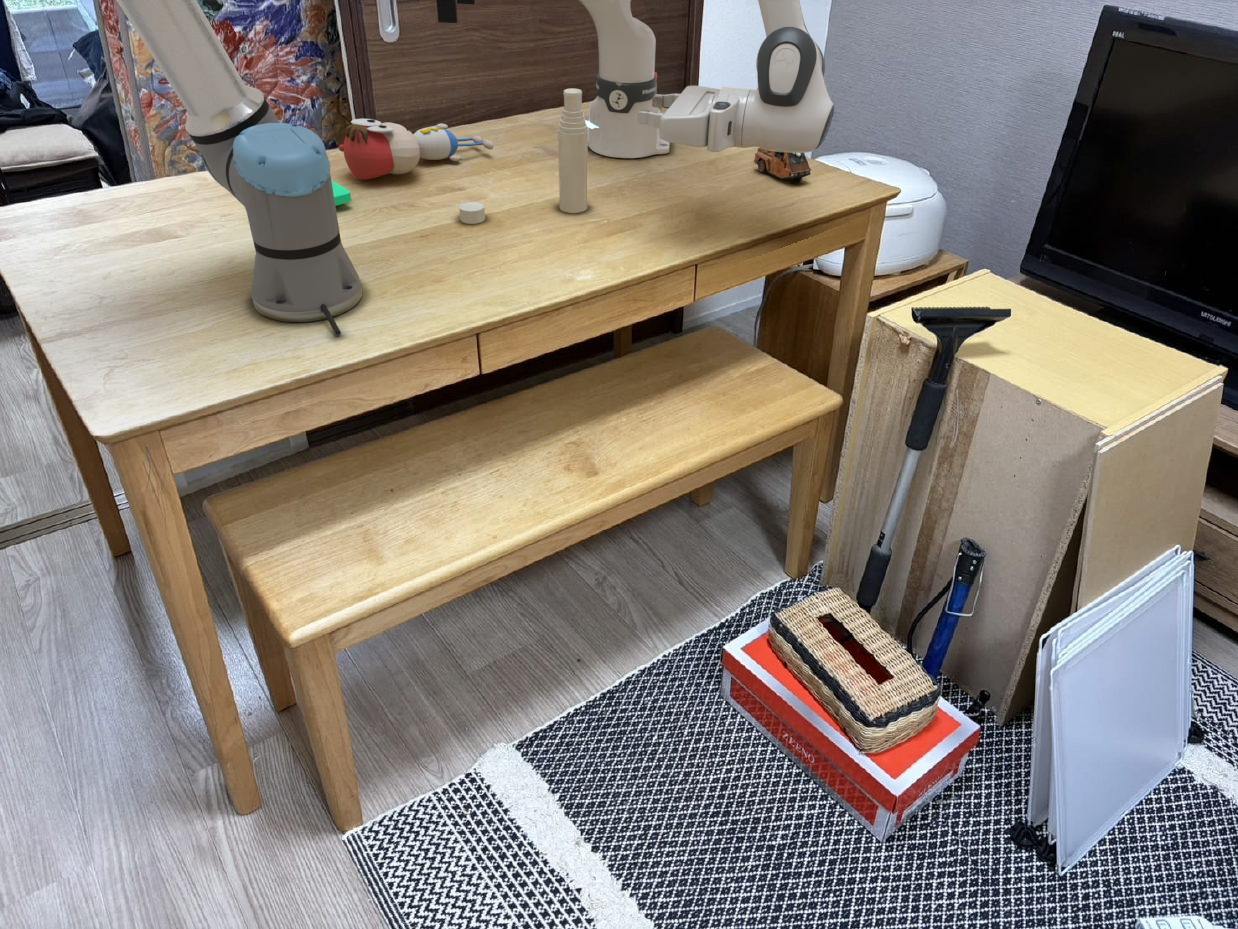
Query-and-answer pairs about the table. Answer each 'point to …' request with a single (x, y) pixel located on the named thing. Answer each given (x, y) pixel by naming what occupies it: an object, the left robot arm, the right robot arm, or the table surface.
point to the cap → (472, 212)
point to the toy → (397, 147)
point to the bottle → (573, 154)
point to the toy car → (782, 164)
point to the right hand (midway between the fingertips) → (645, 108)
